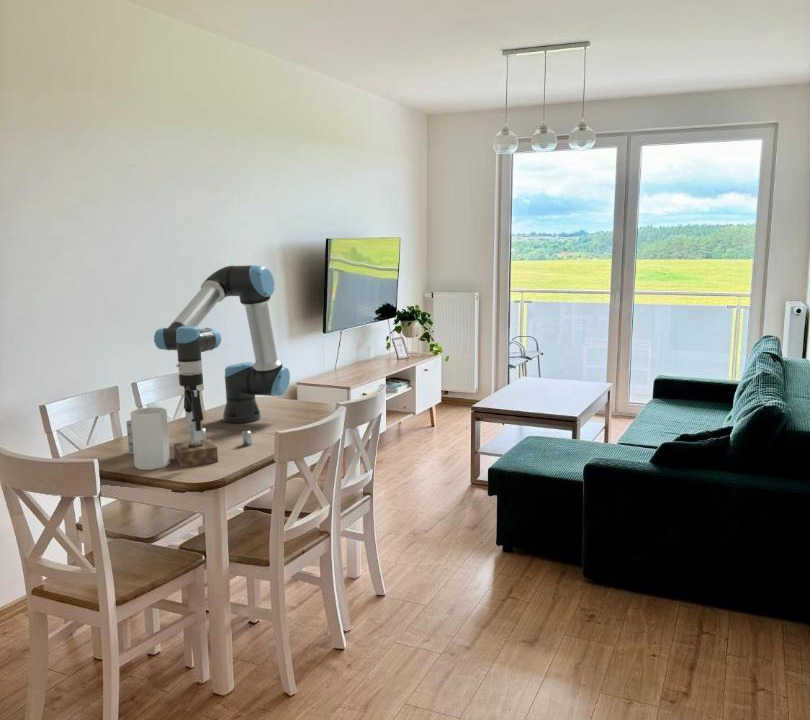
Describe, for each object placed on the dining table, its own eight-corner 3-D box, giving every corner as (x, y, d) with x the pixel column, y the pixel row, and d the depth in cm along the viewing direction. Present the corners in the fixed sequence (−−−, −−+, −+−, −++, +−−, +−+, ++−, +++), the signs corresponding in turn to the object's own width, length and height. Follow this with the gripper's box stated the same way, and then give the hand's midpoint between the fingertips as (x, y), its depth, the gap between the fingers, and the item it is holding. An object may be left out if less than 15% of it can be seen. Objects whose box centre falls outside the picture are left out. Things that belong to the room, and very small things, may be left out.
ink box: (157, 452, 262) (155, 419, 261) (147, 456, 258) (144, 422, 256) (138, 450, 266) (135, 417, 264) (128, 453, 262) (125, 420, 260)
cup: (154, 458, 255) (150, 405, 252) (177, 463, 249) (173, 408, 246) (127, 467, 246) (122, 412, 243) (150, 472, 240) (146, 416, 237)
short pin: (250, 443, 272) (249, 429, 271) (252, 445, 269) (252, 431, 269) (241, 444, 271) (241, 431, 270) (244, 446, 268) (243, 432, 267)
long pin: (200, 458, 255) (198, 423, 252) (202, 460, 252) (200, 426, 250) (190, 459, 253) (188, 424, 251) (192, 461, 250) (190, 427, 248)
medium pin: (206, 449, 265) (204, 427, 264) (207, 451, 262) (206, 429, 261) (196, 450, 264) (195, 428, 263) (198, 452, 261) (197, 430, 260)
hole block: (210, 452, 260) (209, 439, 260) (218, 461, 250) (217, 447, 249) (175, 457, 255) (174, 443, 254) (181, 467, 245) (180, 452, 244)
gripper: (172, 368, 257) (176, 428, 261) (185, 380, 235) (190, 445, 238) (194, 366, 260) (198, 425, 264) (209, 377, 238) (213, 442, 242)
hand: (194, 435), depth 251 cm, fingers open, 13 cm apart
